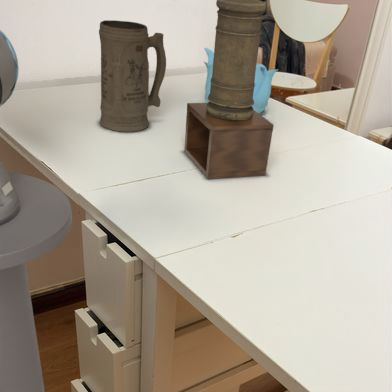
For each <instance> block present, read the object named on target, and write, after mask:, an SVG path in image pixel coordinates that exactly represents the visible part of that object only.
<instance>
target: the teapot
mask: <svg viewBox="0 0 392 392" xmlns="http://www.w3.org/2000/svg"><path fill="white" fill-rule="evenodd" d="M204 51H205V53H206V56H207V61H208V62H206V61H203V64H204V65H205V66H206V72H207V73H206V81H205V86H204V101H205V103H208V102H209V101H208V99H207V98H208V96H209V94H210V87H211V82H210V81H211V78H212V71H213V59H214V51H213V50H211V49H210V48H208V47H204ZM278 71H279V69H278V68H277V69H269V70H268V69H267V67H266V65H264V64H262V63H256V71H255V81H254V83H255V87H254V92H253V100H254V105H253V106H252V107H253V109H254V110H255V111H256V112H257V113H259V114H260V115H261V113H263V111H265V109H266V108H267V106H268V104H269V100H270V97H271V94H272V93H271V92H272V83H273V82H272V81H273V77H274V75H275V74H276V73H277V72H278Z"/></svg>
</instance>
